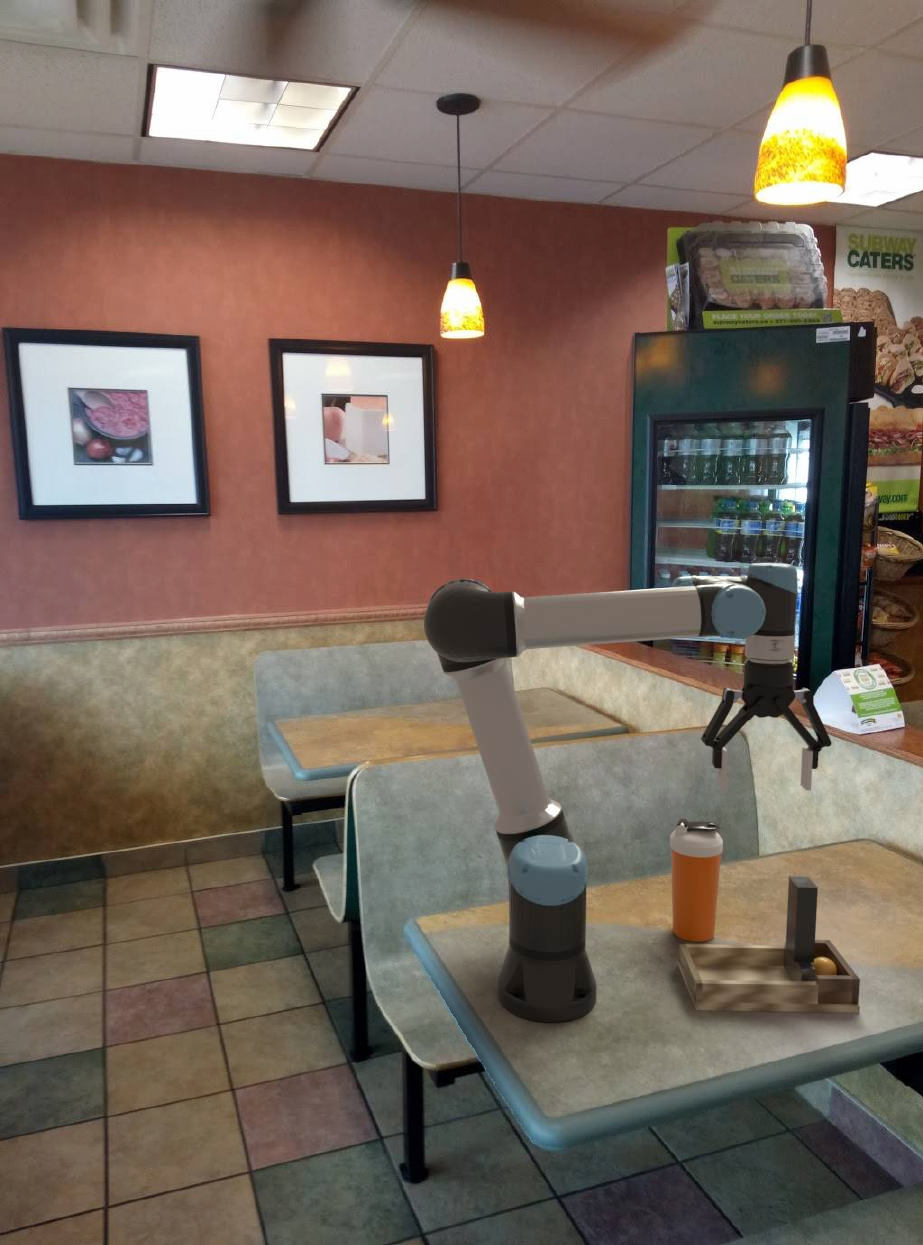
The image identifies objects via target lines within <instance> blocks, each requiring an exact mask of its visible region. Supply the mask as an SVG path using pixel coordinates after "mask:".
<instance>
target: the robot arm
mask: <svg viewBox="0 0 923 1245" xmlns="http://www.w3.org/2000/svg"><path fill="white" fill-rule="evenodd" d="M798 586H799V585H798V571H797V568H796V567H795V566H794V565H792V564H789V563H780V562H760V563H759V562H758V563H757V562H756V563H751V564H749V566H748V568H747V572H746V575H741V576H740V575H738V576H720V575H719V576H717V575H715V576H713V575H710V576H708V575H703V576H702V575H694V574H693V575H691V576H678V577H676V578H675V579H674V580H673V581H672V584H671V587H663V588H661V587H660V588H647V589H633V590H632V589H631V590H620V591H619V590H618V591H606V592H605V591H604V592H603V591H602V592H601V591H600V592H589V593H573V594H560V595H545V596H534V597H533V596H532V597H531V596H530V597H522V596H520V595H519V594H518V593H517V592H515V591H505V592H504V591H503V592H501V591H500V592H499V591H492V590H491V589H490V587H488V586H487V585H485V584H483V583H482V582H479V581H477V580H473V579H468V578H461V579H460V578H459V579H456V580H451V581H448V582H447V583H444V584H442V585H441V586H440V587H438V588H437V589H436V590H435V592H434V593H433V594H432V595H431V597H430V599H429V602H428V604H427V607H426V610H425V614H424V618H423V628H424V634H425V637H426V639H427V642H428V643H429V645H430V646H431V648H432V650H434V651H435V652H436V654H437V656H438V659H439V662H440V665H441V666H440V667H441V668H442V672H443V674H445V675H446V676H449V677H451V678H452V679H454V680H455V681H456V684H457V688H458V691H459V693H460V696H461V700H462V703H463V705H464V706H463V707H464V709H465V712H466V715H467V718H468V721H469V724H470V727H471V730H472V733H473V735H474V736H473V737H474V739H475V742H476V745H477V748H478V752H479V755H480V758H481V761H482V765H483V767H484V769H485V773H486V776H487V779H488V783H489V785H490V788H491V792H492V795H493V797H494V800H495V803H496V806H497V810H498V816H497V818H496V820H495V822H494V824H493V825H494V826H493V827H494V830H495V833H496V836H497V839H498V842H499V845H500V848H501V852H502V856H503V858H504V860H505V864H506V871H507V882H508V883H507V884H508V885H507V886H508V899H509V900H508V902H509V904H508V905H509V907H508V911H509V912H508V914H509V916H508V920H509V921H508V922H509V923H508V931H509V932H508V948H507V950H506V953H505V957H504V959H503V962H502V965H501V968H500V972H499V973H498V978H497V997H498V1000H499V1002H500V1005H502V1006H503V1007H504V1008H505V1009H506V1010H508V1011H509V1012H510V1013H512V1014H513V1015H516V1016H518V1017H521V1018H523V1019H526V1020H529V1021H534V1022H542V1023H560V1022H568V1021H572V1020H575V1019H578V1018H580V1017H582V1016H585V1015H586V1014H588V1013H589V1012H590V1011H591V1010H592V1009H593V1008H594V1007H595V1005H596V1002H597V988H598V987H597V979H596V977H595V975H594V970H593V968H592V965H591V961H590V958H589V955H588V953H587V947H586V945H587V944H586V939H587V938H586V936H587V884H588V879H589V869H588V865H587V858H586V855H585V852H584V851H583V849H582V848H581V847H580V846H579V845H578V844H576V843H575V841H574V837H573V834H572V833H571V831H570V829H569V826H568V822H567V820H566V817H565V814H564V811H563V808H562V804H560V802H558V801H557V800H554V799H552V798H550V796H549V794H548V790H547V787H546V784H545V780H544V778H543V776H542V772H541V769H540V766H539V762H538V760H537V756H536V753H535V749H534V747H533V744H532V741H531V738H530V735H529V732H528V727H527V725H526V724H527V723H526V722H525V719H524V716H523V711H522V709H521V706H520V703H519V700H518V697H517V693H516V690H515V687H514V684H513V681H512V677H511V674H510V672H509V668H508V665H507V662H508V659H509V658H519V657H520V656H521V655H522V653H523V652H525V651H526V650H535V649H547V648H550V649H551V648H561V647H573V646H574V647H576V646H590V645H602V644H614V643H615V644H616V643H617V644H618V643H629V642H630V643H631V642H644V641H658V640H671V639H683V638H687V639H688V638H707V637H721V636H723V637H725V638H729V639H737V640H741V639H742V640H743V639H745V641H744V642H745V643H744V644H745V645H744V656H745V657H746V660H745V661H744V664H743V665H744V667H743V686H742V689H741V690H737V689H731V688H730V687H725V688H723V691H722V698H721V701H720V703H719V705H718V706H717V708H716V710H715V712H714V714H713V715H712V718H711V720H710V721H709V723H708V725H707V726H706V728H705V731H703V734H702V735H701V739H700V740H701V742H702V743H703V744H704V745H705V746H706V747H711V748H712V751H711V752H712V753H711V754H712V758H711V764H712V766H713V768H714V769H717V782H716V784H717V786H718V787H719V789H720V790H721V791H725V790H727V782H728V781H727V779H728V778H727V777H728V776H727V775H728V774H727V773H728V752H729V751H728V750H727V748H725V747H726V745H727V744H728V743H729V742H730V741H731V740H732V739H733V738H734V737H735V736H736V734H737V733H738V732H739V731H740V730H741V729H742V728H743V727H744V726H745V725H746V724H747V723H748V721H751V720H752V719H753V718H754V717H757V718H767V717H770V718H773V719H774V718H776V719H778V718H779V717H781V716H783V717H784V718H785V719H786V721H787V722H788V723H789V725H791V727H792V728H793V729H794V730H795V732H796V733H797V734H798V735H799V736H800V738H801V739H802V740H803V741H804V743H805V744H806V745H807V746H802V748H801V750H802V751H801V768H800V769H801V771H800V772H801V773H800V786H801V787H802V788H803V789H804V790H805V791H812V777H813V770H817V769H818V767H819V753H820V752H821V751H822V749H823V748H825V747H827V748H829V747H830V746H832V739H831V737H830V736H829V734H828V731H827V729H826V728H825V725H824V723H823V721H822V719H821V717H820V714H819V712H818V710H817V708H816V706H815V701H814V693H813V691H812V690H810V689H808V688H806V687H802V688H800V689H798V690H794V688H793V685H794V668H795V665H794V662H792V660H793V659H794V658H795V641H796V640H795V639H796V619H797V617H796V616H797V604H798V603H797V602H798V595H799V592H798V591H799V590H798V589H799V588H798ZM739 699H740V700H742V702H743V703H744V704H743V705H742V707H740V709H739V710H738V712H737V713H736V715H735V716H734V717H733V718H732V719H731V720H730V721H729V722H728V723H727V725H726V726H725V727H723V729H722V730H721V728H722V726H723V724H724V723H725V721H726V719H727V717H728V715H729V714H730V712H731V710H732V709H733V707H734V706H733V705H734V704H736V703H738V700H739ZM795 699H797V701H798V703H800V704H801V705H802V708H803V710H804V713H805V715H806V717H807V718H808V720H809V723H810V725H811V727H812V729H813V731H814V733H815V735H816V738H814V737H813V735H812V734H811V732H810V731H809V730H808V729H807V728H806V727H805V726H804V725H803V724H802V722H801V721H800V720H799V718H798V717H797V716H796V714H795V713H794V711H793V710H792V709H791V708H790V706H791V704H792V703H793V702H794V701H795ZM720 730H721V731H720ZM719 731H720V732H719Z"/></svg>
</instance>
